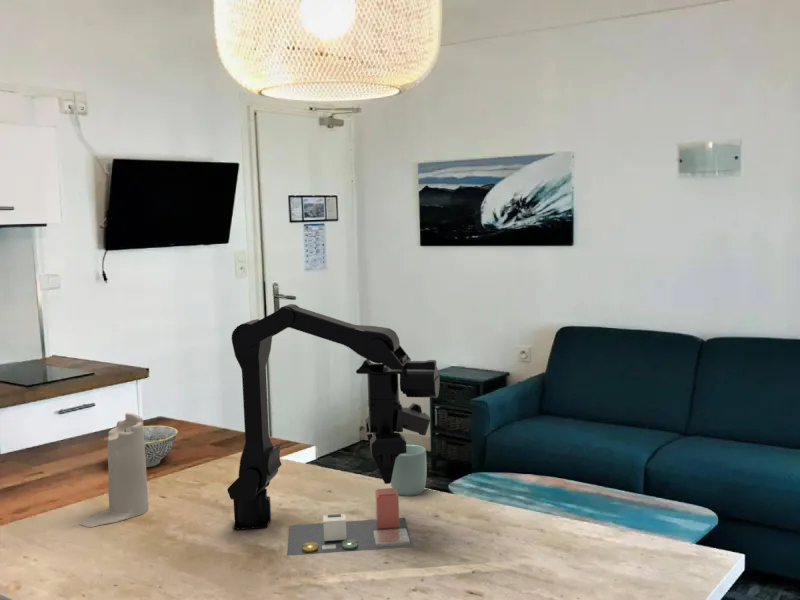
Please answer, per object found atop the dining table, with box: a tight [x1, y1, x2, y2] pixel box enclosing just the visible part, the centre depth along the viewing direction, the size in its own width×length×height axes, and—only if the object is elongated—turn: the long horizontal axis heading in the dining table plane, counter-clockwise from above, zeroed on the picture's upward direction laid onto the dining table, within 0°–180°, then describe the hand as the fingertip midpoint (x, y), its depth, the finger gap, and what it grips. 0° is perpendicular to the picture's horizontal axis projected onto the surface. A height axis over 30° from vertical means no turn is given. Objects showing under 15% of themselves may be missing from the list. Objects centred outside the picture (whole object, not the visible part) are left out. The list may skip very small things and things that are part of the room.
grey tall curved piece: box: [79, 412, 149, 528], centre depth 167 cm, size 7×14×20 cm, turn 137°
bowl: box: [143, 425, 178, 468], centre depth 204 cm, size 16×16×8 cm
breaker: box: [322, 513, 347, 541], centre depth 150 cm, size 4×3×4 cm
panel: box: [286, 517, 414, 557], centre depth 152 cm, size 22×14×2 cm, turn 96°
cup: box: [390, 444, 427, 496], centre depth 175 cm, size 8×8×10 cm
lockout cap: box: [374, 487, 400, 528], centre depth 157 cm, size 4×4×6 cm
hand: (386, 478), depth 156 cm, fingers open, 6 cm apart
